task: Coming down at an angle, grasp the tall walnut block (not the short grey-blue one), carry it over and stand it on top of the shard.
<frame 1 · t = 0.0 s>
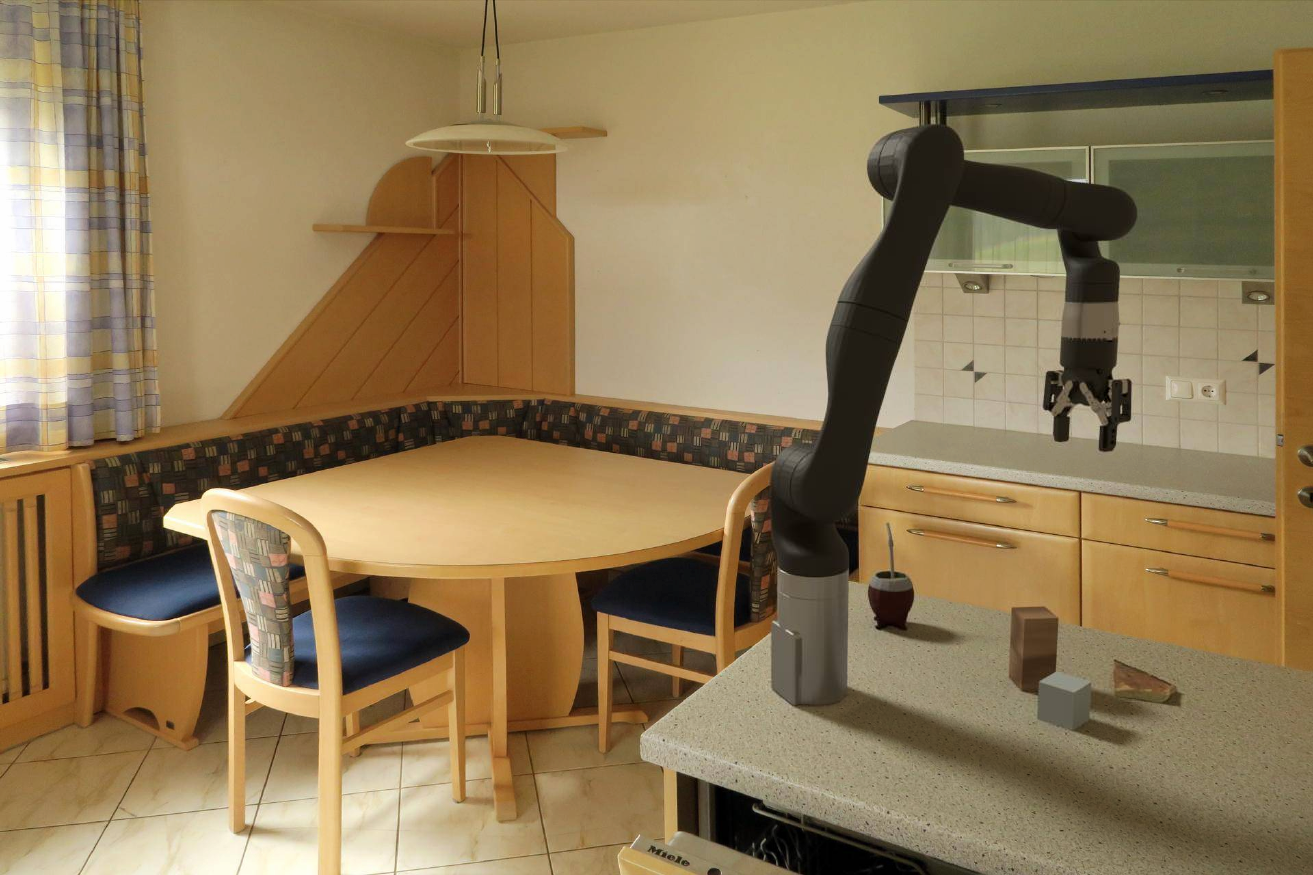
hand: (1083, 446, 148), 29 cm above the counter, tool pointing down, fingers open, 8 cm apart
mate gourd: (888, 624, 161), on the counter
walnut block: (1031, 683, 138), on the counter
grey-blue block: (1063, 719, 127), on the counter
shard: (1128, 691, 137), on the counter
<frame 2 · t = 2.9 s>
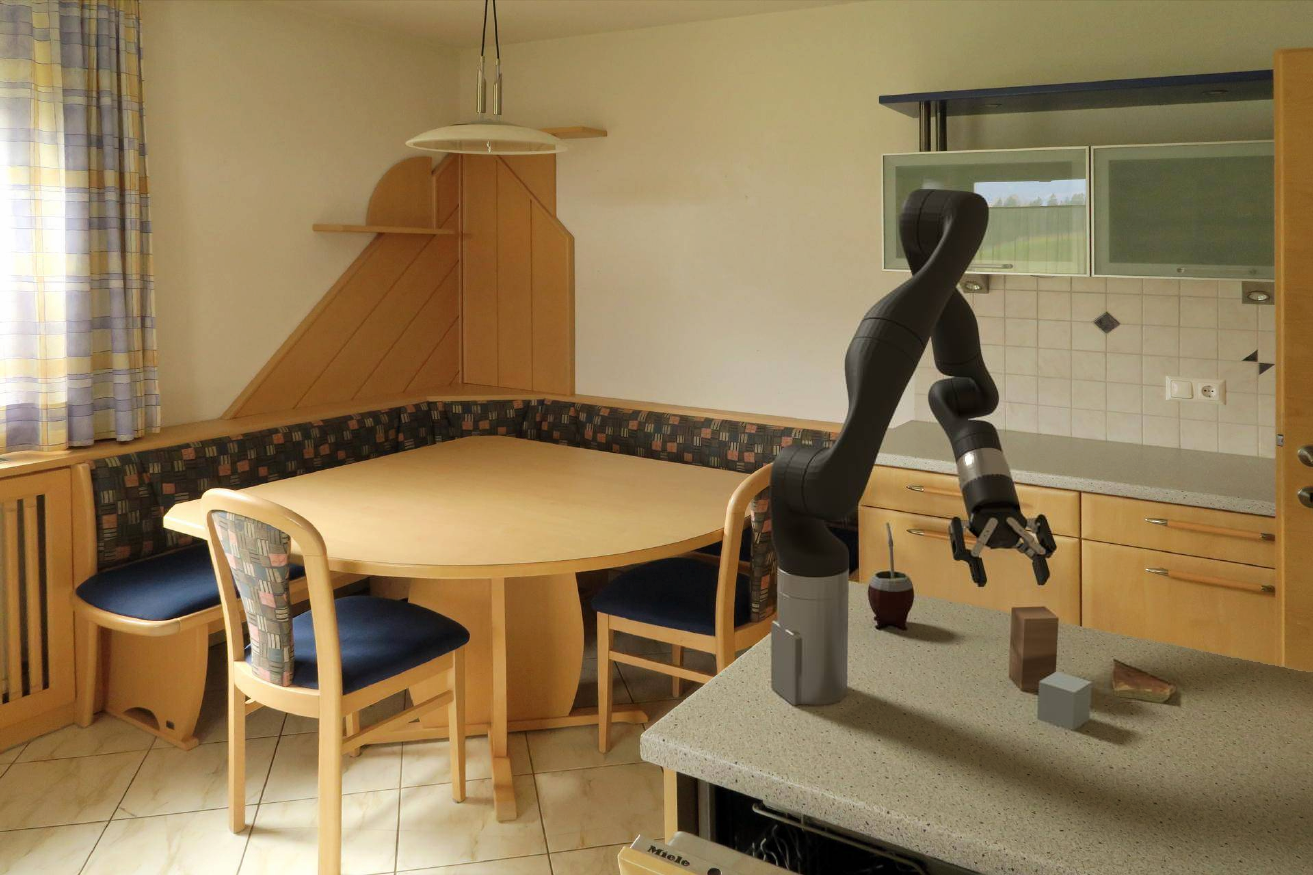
hand: (1013, 583, 143), 11 cm above the counter, tool tilted 45°, fingers open, 8 cm apart
nothing on the counter moved.
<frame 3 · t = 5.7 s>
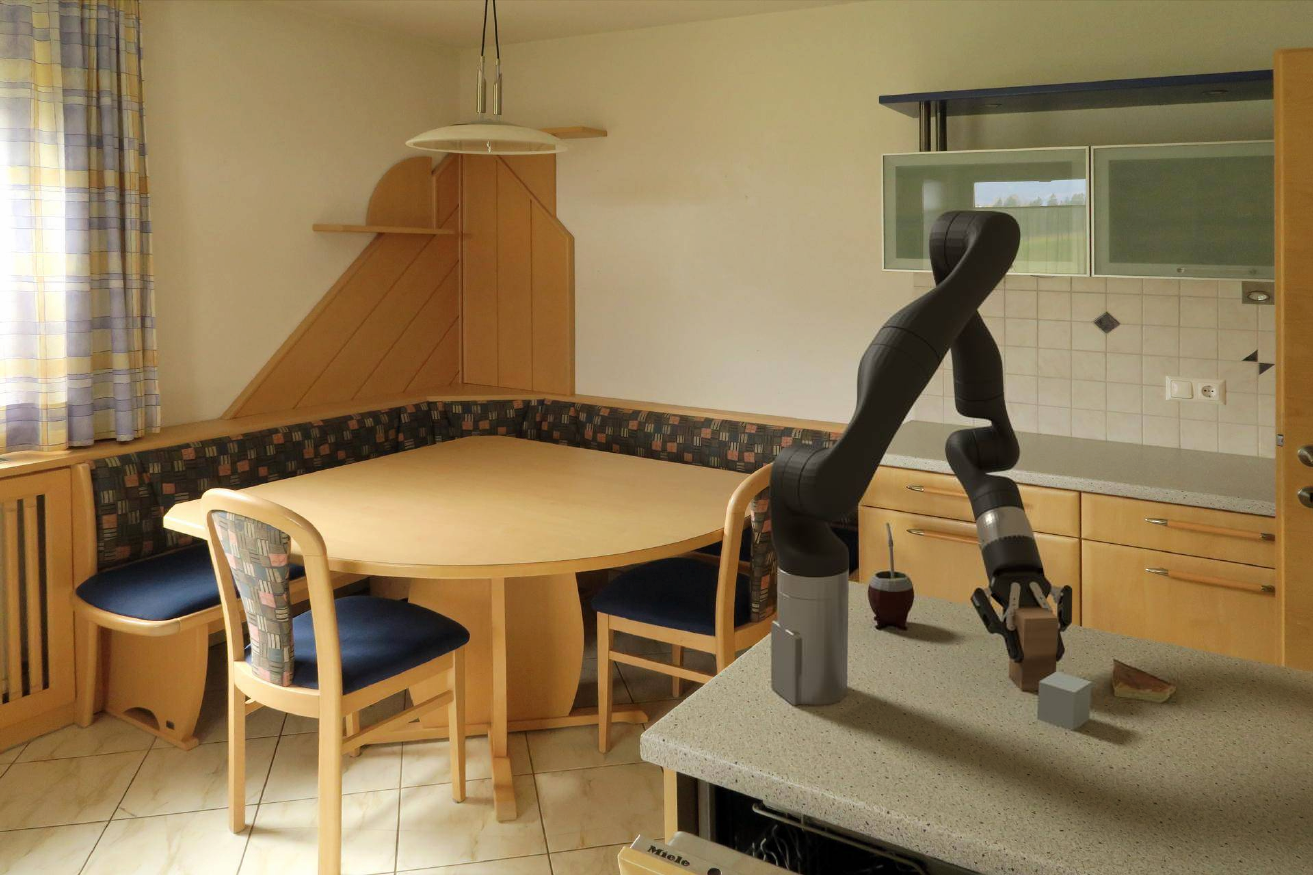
hand: (1038, 659, 135), 4 cm above the counter, tool tilted 45°, fingers closed on walnut block, 4 cm apart
walnut block: (1031, 683, 138), on the counter, touching gripper
everything else where it was.
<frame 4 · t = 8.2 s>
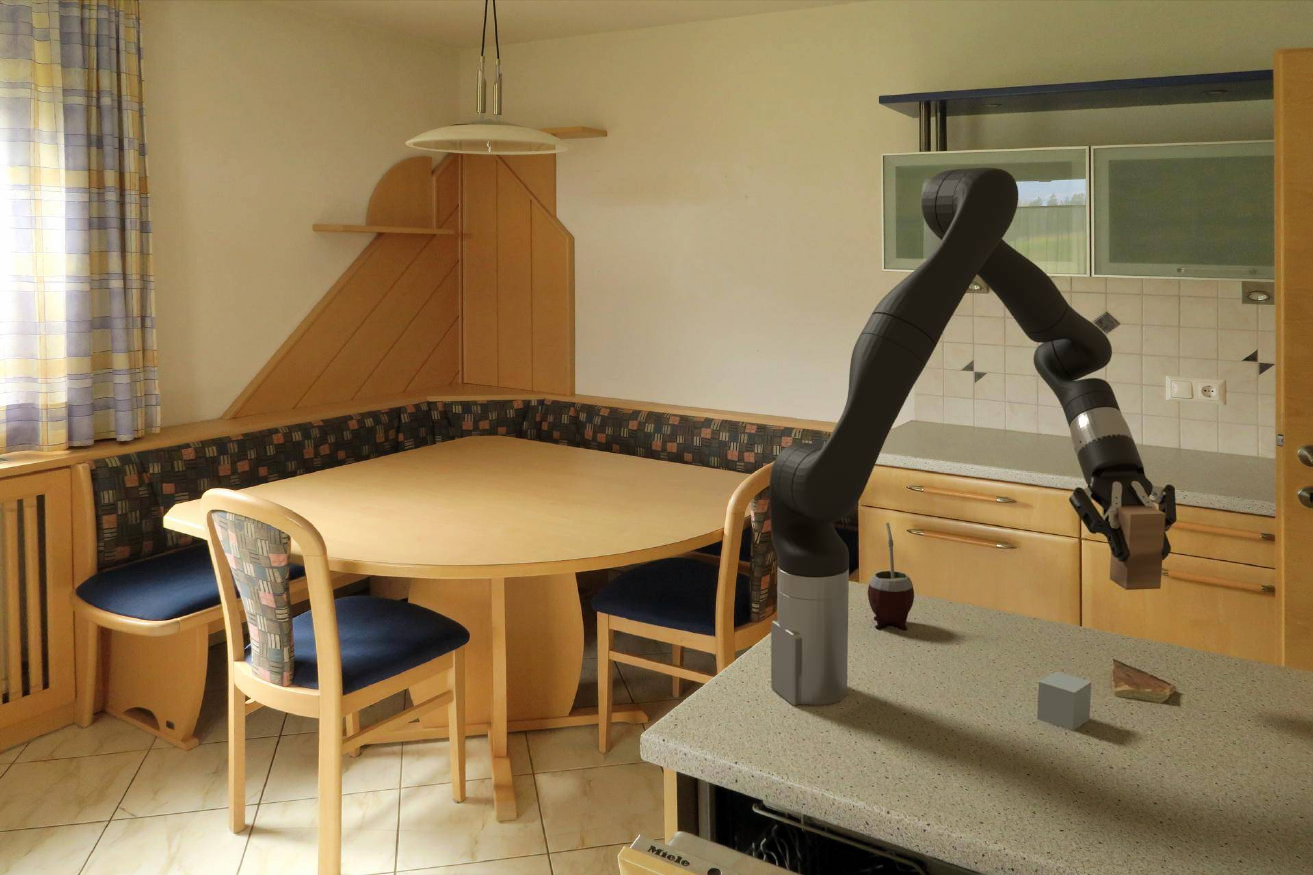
hand: (1144, 557, 132), 18 cm above the counter, tool tilted 45°, fingers closed on walnut block, 4 cm apart
walnut block: (1134, 583, 134), point 14 cm above the counter, touching gripper
everything else where it was.
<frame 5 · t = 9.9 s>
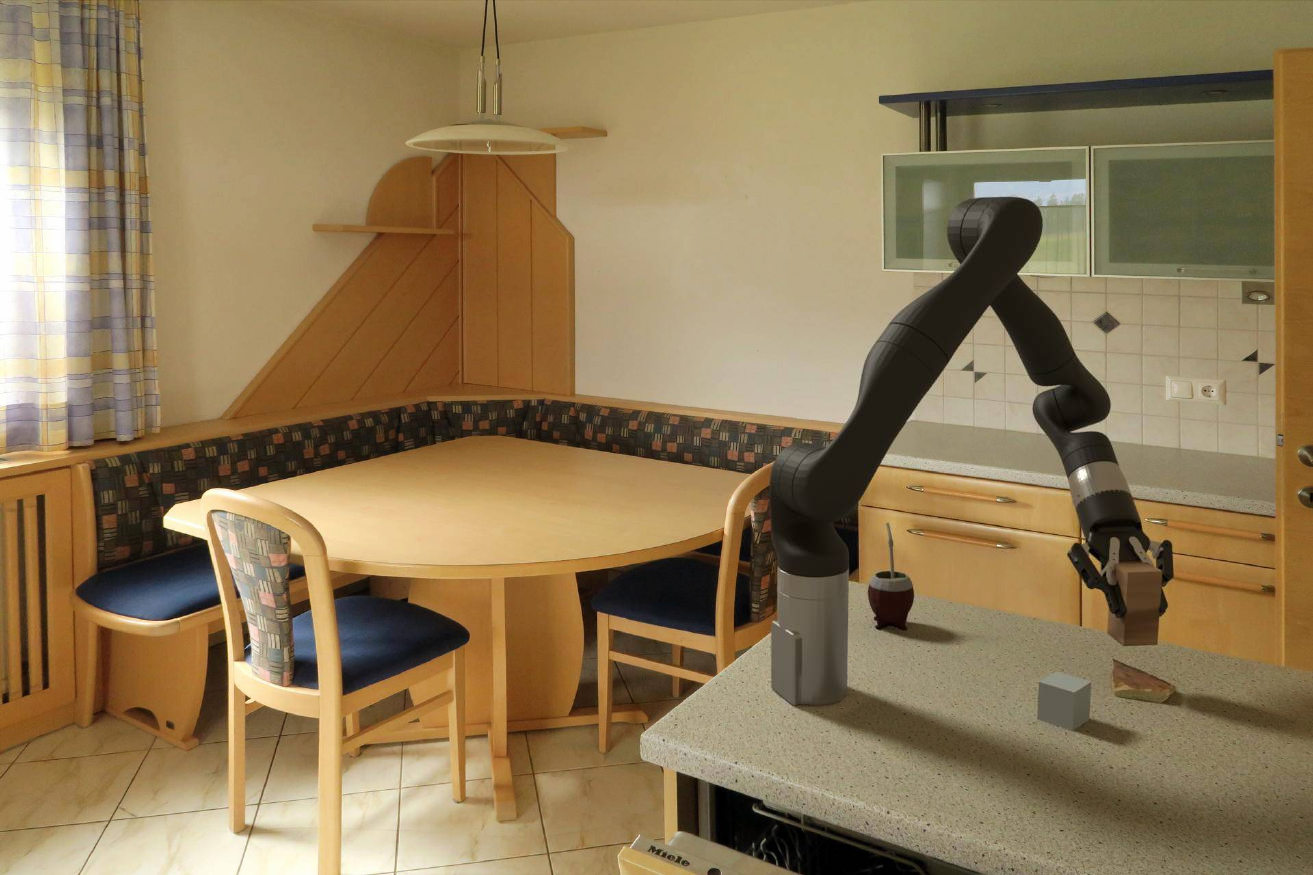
hand: (1141, 614, 133), 11 cm above the counter, tool tilted 45°, fingers closed on walnut block, 4 cm apart
walnut block: (1131, 639, 135), point 6 cm above the counter, touching gripper
everything else where it was.
when the fingers open (7 cm above the counter, at t = 11.2 s): walnut block drops 2 cm, resting on shard.
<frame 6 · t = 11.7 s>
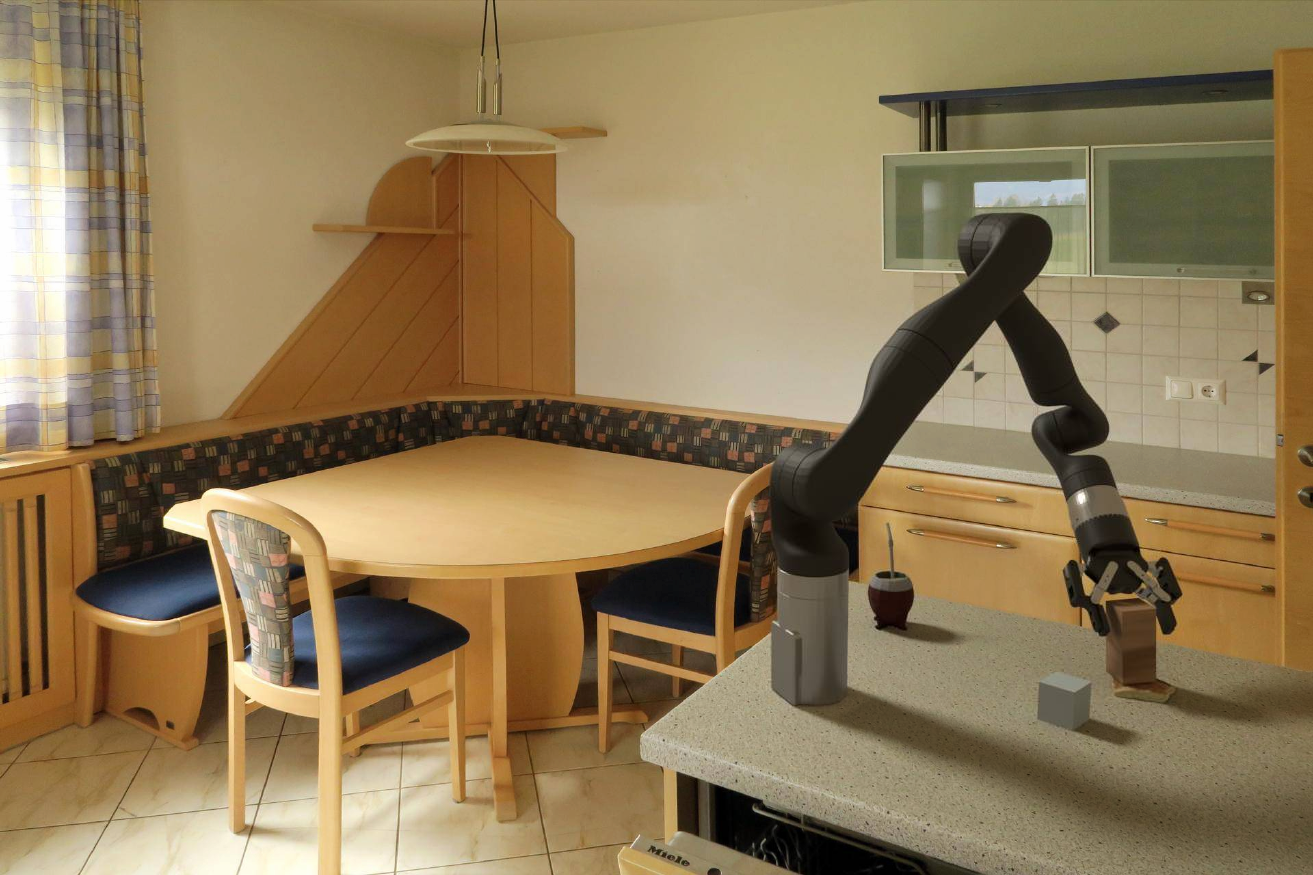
hand: (1137, 633, 134), 8 cm above the counter, tool tilted 45°, fingers open, 8 cm apart
walnut block: (1130, 676, 136), point 1 cm above the counter, touching shard
shard: (1127, 692, 137), on the counter, touching walnut block
everything else where it was.
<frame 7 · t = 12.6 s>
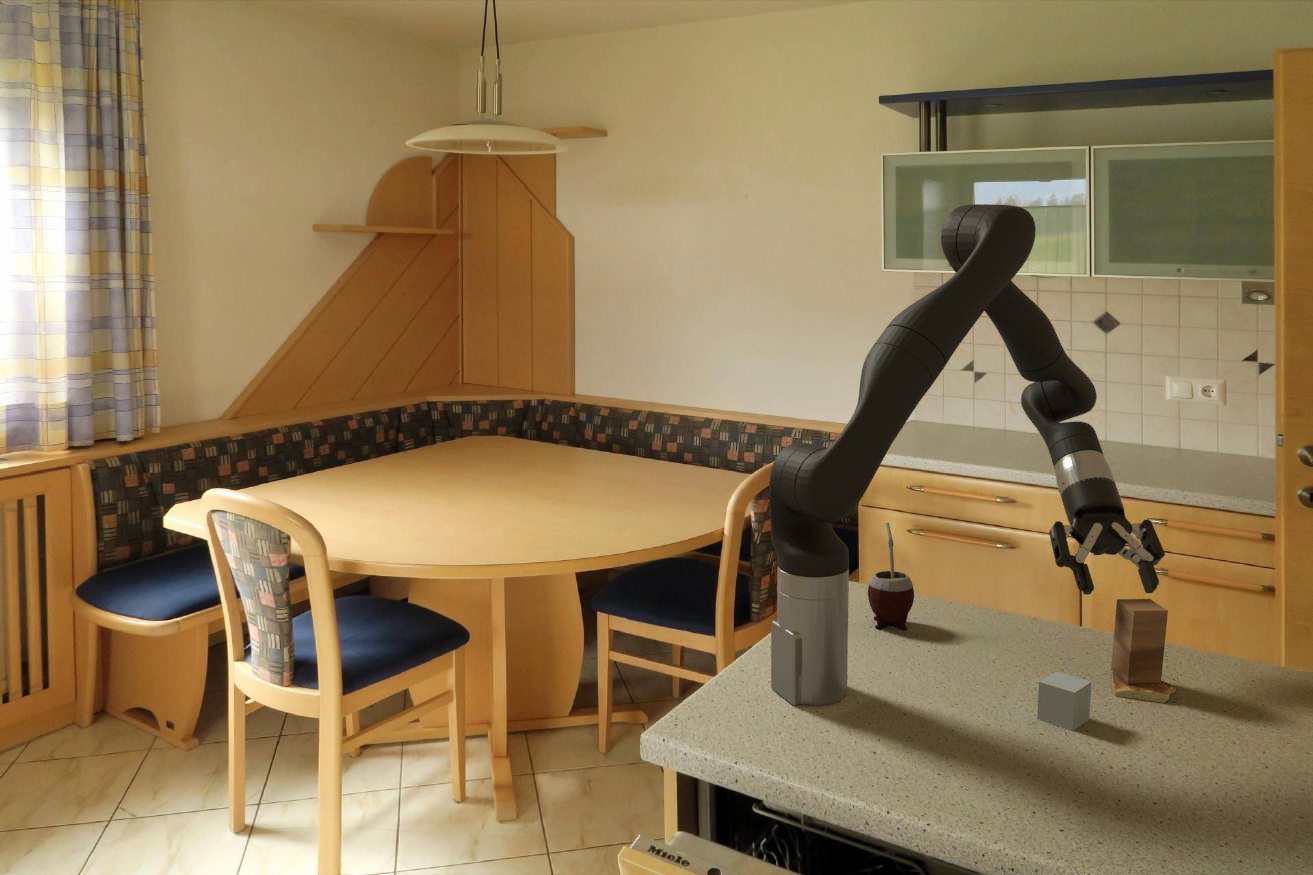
hand: (1120, 591, 138), 12 cm above the counter, tool tilted 45°, fingers open, 8 cm apart
walnut block: (1135, 676, 137), point 1 cm above the counter
shard: (1127, 692, 137), on the counter
everything else where it was.
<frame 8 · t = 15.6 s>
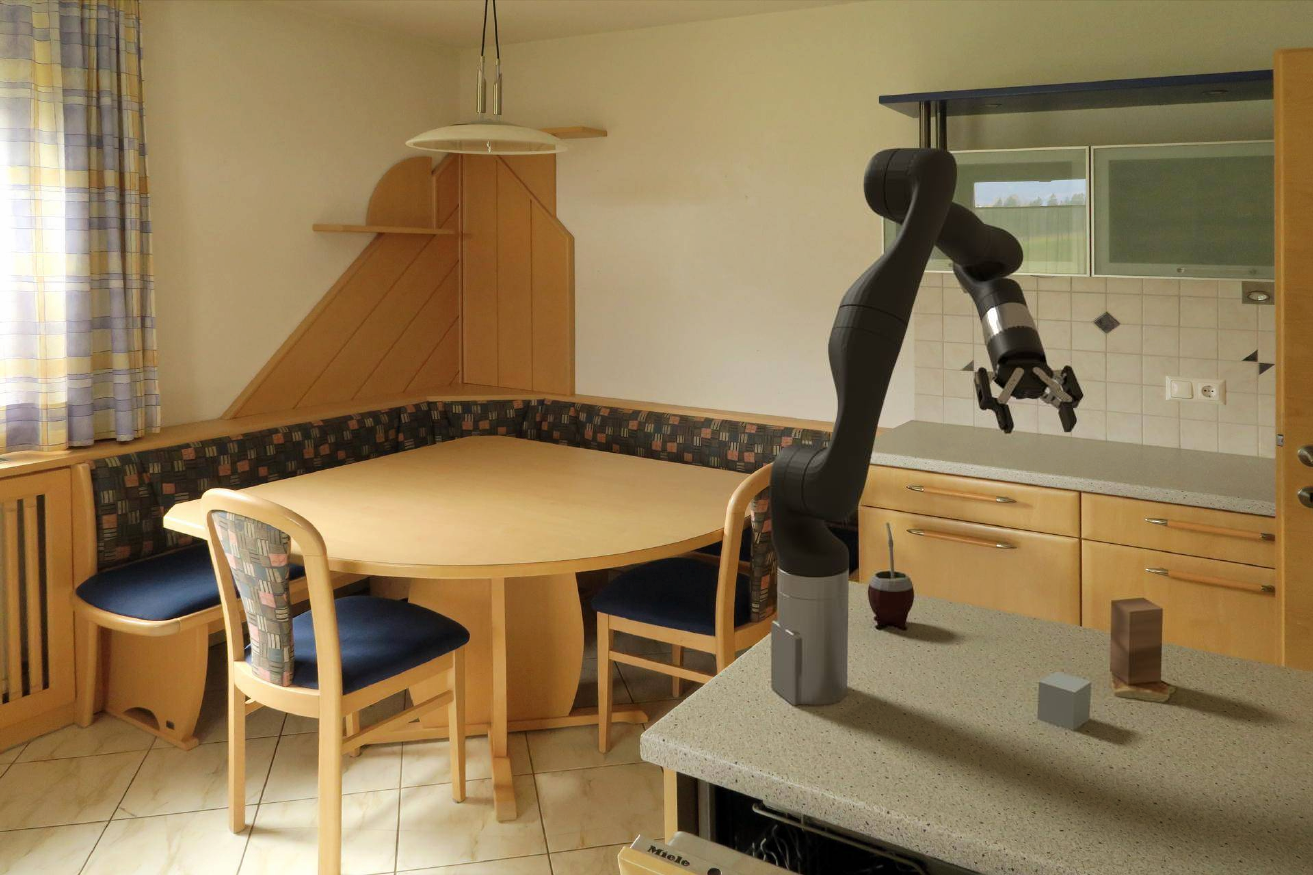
hand: (1040, 429, 143), 33 cm above the counter, tool tilted 45°, fingers open, 8 cm apart
walnut block: (1135, 676, 137), point 1 cm above the counter, touching shard
shard: (1127, 691, 137), on the counter, touching walnut block
everything else where it was.
at the end: walnut block inside the target area on the shard (1.1 cm from its centre), point 2.1 cm above the shard's base; walnut block tilted 1°; the gripper is holding nothing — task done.
